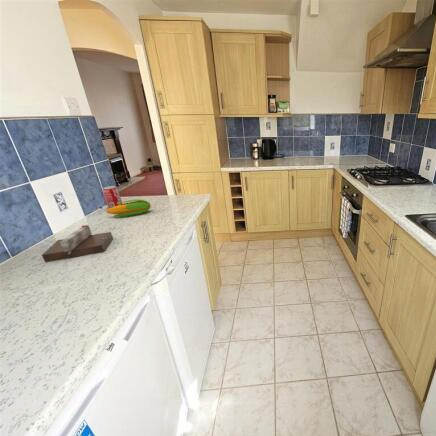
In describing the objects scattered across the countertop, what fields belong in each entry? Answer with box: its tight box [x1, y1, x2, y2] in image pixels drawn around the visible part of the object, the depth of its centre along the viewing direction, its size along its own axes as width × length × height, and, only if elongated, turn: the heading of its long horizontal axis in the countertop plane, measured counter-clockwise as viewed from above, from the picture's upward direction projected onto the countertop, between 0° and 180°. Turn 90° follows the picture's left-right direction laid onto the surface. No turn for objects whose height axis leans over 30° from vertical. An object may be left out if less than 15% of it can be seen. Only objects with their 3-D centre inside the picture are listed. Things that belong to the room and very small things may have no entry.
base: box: [41, 231, 114, 263], centre depth 94 cm, size 18×18×3 cm
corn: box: [105, 199, 151, 218], centre depth 126 cm, size 7×8×20 cm
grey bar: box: [60, 224, 93, 252], centre depth 93 cm, size 14×2×4 cm, turn 11°
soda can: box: [102, 185, 123, 209], centre depth 135 cm, size 7×7×12 cm
